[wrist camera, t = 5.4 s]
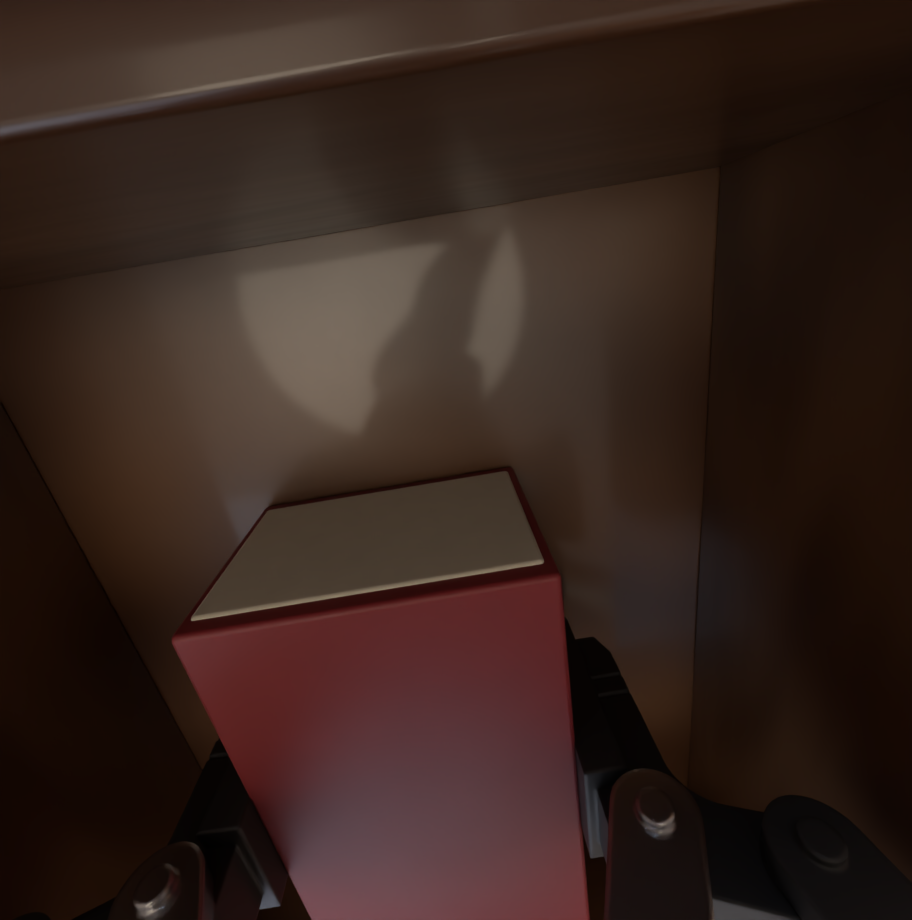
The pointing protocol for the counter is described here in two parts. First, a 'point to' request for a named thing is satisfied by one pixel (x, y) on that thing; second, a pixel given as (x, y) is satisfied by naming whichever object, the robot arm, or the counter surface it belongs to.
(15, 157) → the chest
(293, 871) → the book
